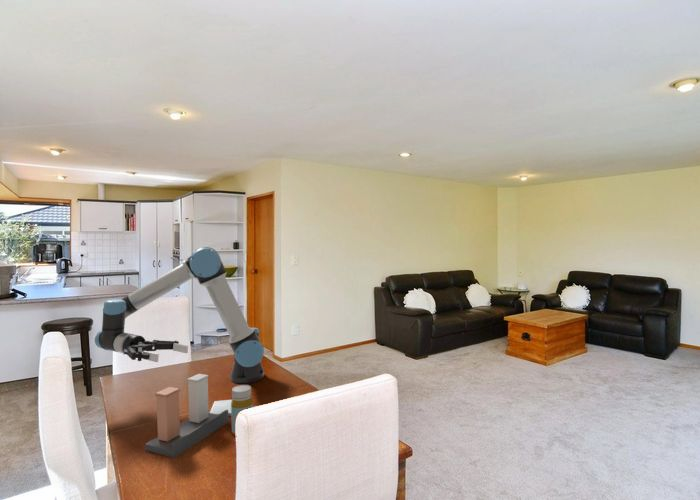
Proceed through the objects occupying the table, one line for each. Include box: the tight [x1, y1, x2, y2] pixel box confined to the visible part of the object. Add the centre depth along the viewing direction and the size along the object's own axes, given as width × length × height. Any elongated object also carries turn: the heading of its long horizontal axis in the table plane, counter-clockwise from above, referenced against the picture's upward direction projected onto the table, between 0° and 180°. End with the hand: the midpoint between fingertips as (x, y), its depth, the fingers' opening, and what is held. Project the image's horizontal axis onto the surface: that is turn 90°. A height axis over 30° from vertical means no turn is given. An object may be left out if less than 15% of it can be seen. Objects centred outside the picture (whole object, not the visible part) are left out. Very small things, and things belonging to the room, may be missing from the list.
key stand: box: [144, 410, 229, 459], centre depth 130 cm, size 24×12×4 cm, turn 158°
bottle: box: [230, 384, 254, 437], centre depth 131 cm, size 7×7×15 cm
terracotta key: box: [155, 386, 181, 442], centre depth 124 cm, size 5×4×15 cm
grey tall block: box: [186, 373, 210, 423], centre depth 136 cm, size 5×4×15 cm
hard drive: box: [209, 399, 232, 417], centre depth 149 cm, size 2×8×12 cm
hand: (173, 353), depth 141 cm, fingers open, 13 cm apart
